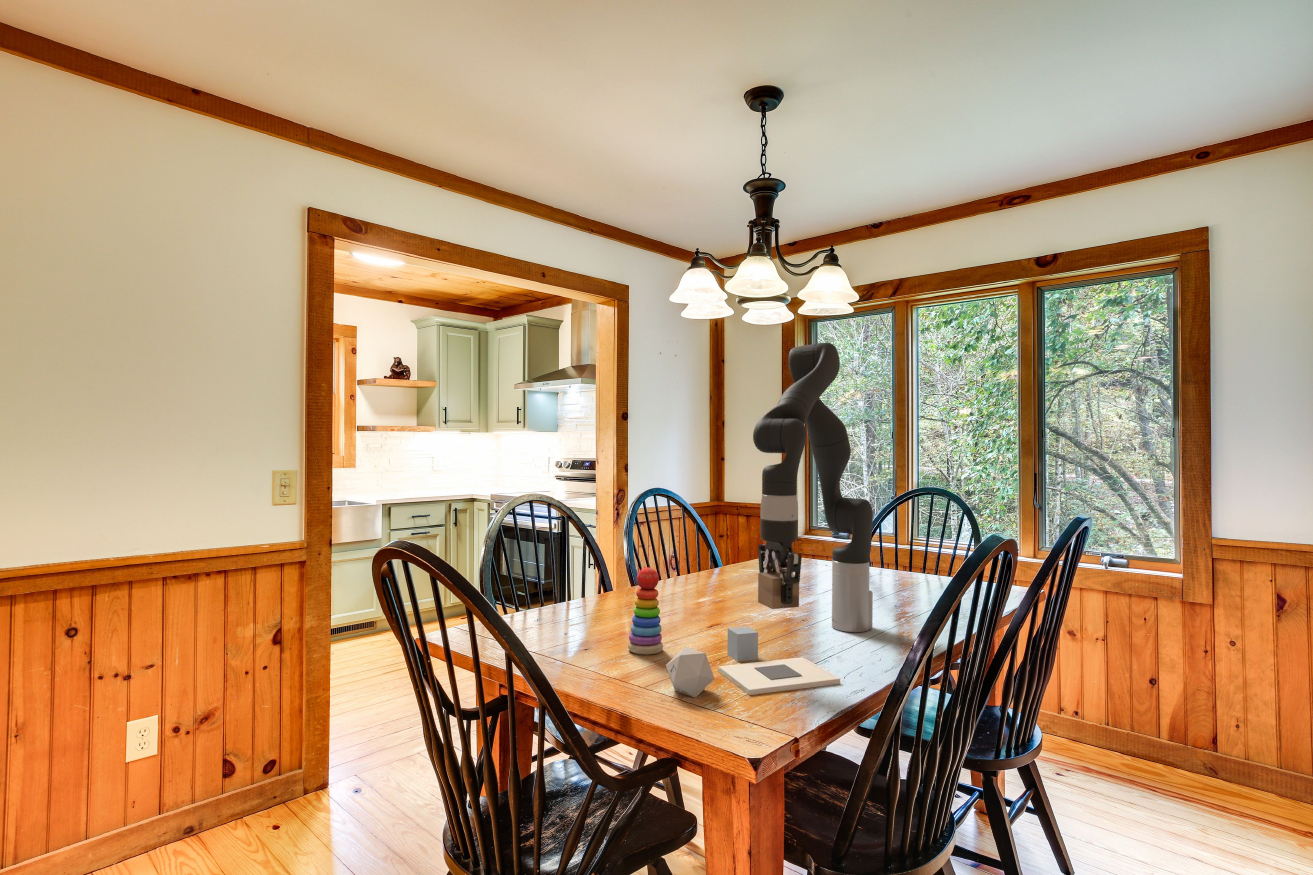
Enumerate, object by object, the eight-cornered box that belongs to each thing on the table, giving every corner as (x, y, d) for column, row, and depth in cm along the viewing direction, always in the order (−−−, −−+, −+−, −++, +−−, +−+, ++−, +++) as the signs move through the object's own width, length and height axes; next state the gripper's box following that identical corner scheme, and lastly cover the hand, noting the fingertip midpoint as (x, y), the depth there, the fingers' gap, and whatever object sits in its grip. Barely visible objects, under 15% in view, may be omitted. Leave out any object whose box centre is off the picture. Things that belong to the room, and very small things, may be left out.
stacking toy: (650, 658, 151) (651, 572, 151) (621, 651, 156) (621, 568, 156) (669, 648, 158) (670, 567, 158) (640, 643, 162) (640, 563, 162)
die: (673, 684, 137) (654, 652, 133) (711, 662, 138) (693, 630, 133) (686, 714, 130) (666, 681, 125) (726, 691, 130) (707, 657, 126)
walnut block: (783, 600, 144) (784, 571, 144) (799, 606, 138) (799, 576, 138) (758, 602, 142) (758, 572, 142) (772, 609, 136) (772, 578, 136)
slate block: (747, 652, 156) (747, 626, 156) (757, 659, 151) (758, 632, 151) (727, 654, 154) (727, 628, 154) (737, 661, 150) (737, 634, 150)
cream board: (802, 661, 150) (802, 656, 150) (840, 683, 137) (840, 677, 137) (718, 671, 143) (718, 665, 143) (749, 695, 130) (749, 688, 130)
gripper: (814, 520, 134) (813, 606, 134) (778, 512, 148) (777, 591, 148) (780, 521, 132) (779, 609, 132) (746, 513, 146) (745, 593, 145)
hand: (778, 599), depth 140 cm, fingers closed on walnut block, 6 cm apart
